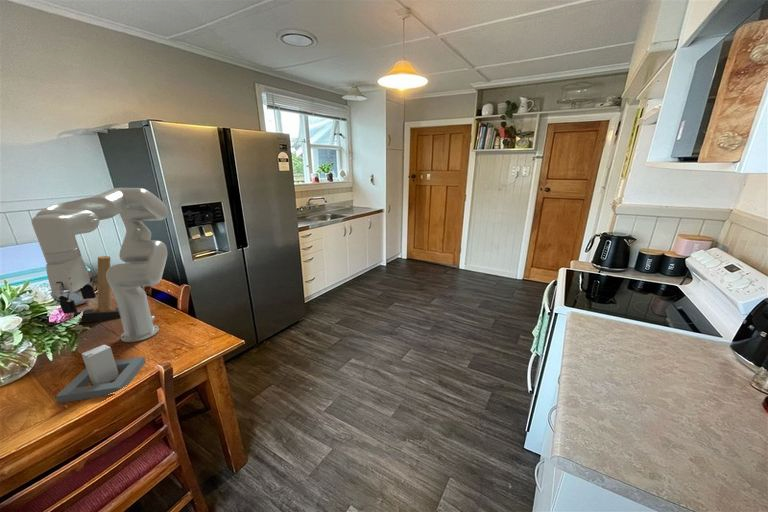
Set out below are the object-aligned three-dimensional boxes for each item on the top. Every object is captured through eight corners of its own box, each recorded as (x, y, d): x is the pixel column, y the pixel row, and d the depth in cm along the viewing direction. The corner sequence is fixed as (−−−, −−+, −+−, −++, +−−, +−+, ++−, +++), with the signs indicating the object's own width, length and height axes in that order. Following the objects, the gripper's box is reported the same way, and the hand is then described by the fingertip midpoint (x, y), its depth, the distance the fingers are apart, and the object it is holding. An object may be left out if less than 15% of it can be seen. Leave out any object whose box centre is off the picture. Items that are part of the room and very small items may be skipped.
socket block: (92, 369, 103) (90, 363, 102) (145, 362, 107) (144, 356, 107) (57, 403, 88) (55, 396, 88) (121, 393, 93) (119, 387, 92)
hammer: (134, 314, 145) (135, 256, 140) (132, 319, 141) (133, 259, 136) (76, 318, 133) (75, 254, 128) (73, 323, 129) (71, 257, 124)
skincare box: (113, 373, 101) (104, 343, 98) (120, 377, 100) (111, 346, 96) (90, 384, 96) (80, 353, 92) (97, 389, 94) (87, 357, 91)
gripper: (66, 247, 96) (82, 294, 101) (24, 266, 80) (46, 320, 86) (95, 246, 98) (109, 292, 103) (59, 264, 82) (78, 317, 88)
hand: (80, 305), depth 95 cm, fingers open, 9 cm apart
